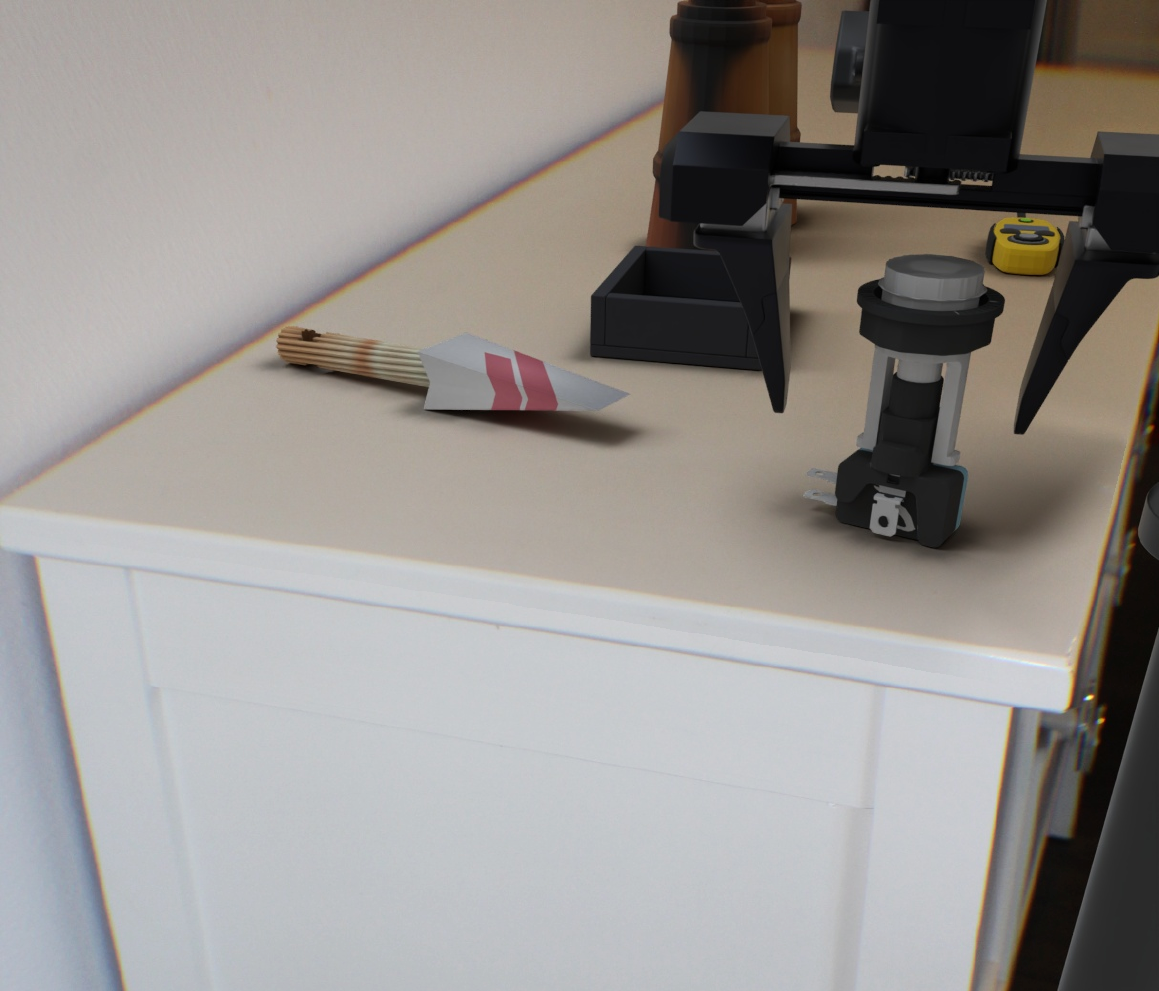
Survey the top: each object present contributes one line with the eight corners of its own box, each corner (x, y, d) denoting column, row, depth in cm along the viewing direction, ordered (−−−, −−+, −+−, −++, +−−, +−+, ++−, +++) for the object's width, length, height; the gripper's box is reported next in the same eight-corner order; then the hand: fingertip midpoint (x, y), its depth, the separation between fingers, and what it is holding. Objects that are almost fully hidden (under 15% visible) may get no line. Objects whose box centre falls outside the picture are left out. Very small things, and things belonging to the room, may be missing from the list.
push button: (778, 526, 58) (804, 266, 52) (831, 485, 61) (860, 237, 55) (935, 564, 55) (981, 294, 49) (981, 518, 59) (1029, 261, 53)
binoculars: (755, 270, 90) (785, -113, 78) (630, 259, 92) (641, -117, 80) (807, 210, 104) (839, -123, 93) (697, 201, 106) (715, -126, 94)
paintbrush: (590, 380, 62) (258, 325, 72) (591, 442, 64) (267, 380, 73) (636, 358, 65) (311, 307, 74) (637, 418, 67) (318, 360, 76)
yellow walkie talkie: (990, 241, 89) (989, 190, 101) (984, 273, 90) (984, 220, 102) (1070, 246, 89) (1059, 195, 100) (1063, 279, 90) (1053, 224, 101)
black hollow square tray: (786, 313, 83) (791, 256, 81) (760, 370, 74) (765, 308, 72) (632, 301, 84) (634, 245, 82) (589, 356, 76) (590, 295, 74)
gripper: (1237, -63, 51) (1132, 377, 60) (720, -76, 54) (696, 342, 64) (1284, -39, 42) (1153, 472, 52) (665, -56, 46) (647, 425, 55)
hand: (897, 420), depth 56 cm, fingers open, 9 cm apart
